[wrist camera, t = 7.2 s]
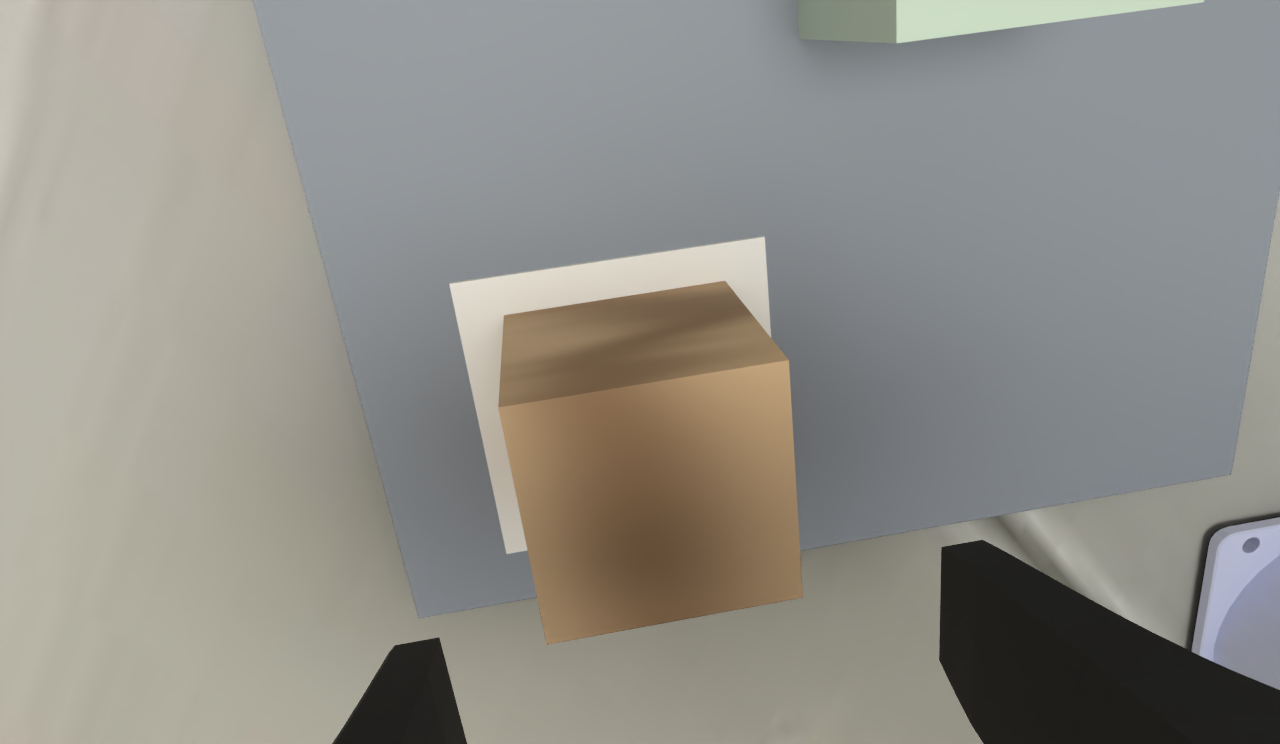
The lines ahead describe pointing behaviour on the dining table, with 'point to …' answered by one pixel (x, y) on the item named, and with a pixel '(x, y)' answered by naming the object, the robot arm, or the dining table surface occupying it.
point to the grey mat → (795, 239)
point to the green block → (946, 16)
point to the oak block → (650, 459)
